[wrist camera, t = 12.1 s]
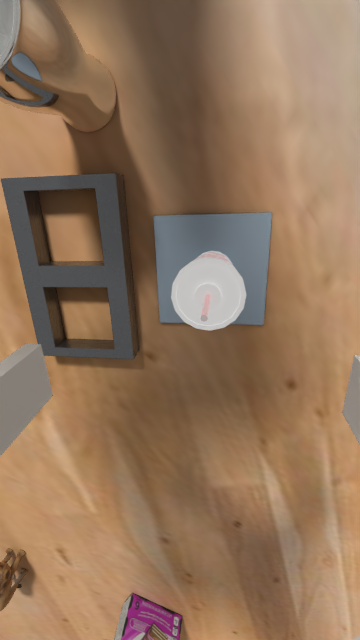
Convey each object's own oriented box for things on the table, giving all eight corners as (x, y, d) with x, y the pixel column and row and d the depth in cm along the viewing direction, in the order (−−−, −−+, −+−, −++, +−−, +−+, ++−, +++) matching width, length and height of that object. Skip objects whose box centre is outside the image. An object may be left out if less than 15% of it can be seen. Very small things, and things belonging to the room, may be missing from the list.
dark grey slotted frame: (16, 180, 33) (0, 178, 30) (123, 175, 31) (115, 173, 29) (51, 346, 40) (40, 355, 38) (139, 349, 38) (133, 359, 36)
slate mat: (154, 215, 32) (153, 215, 31) (271, 212, 30) (272, 212, 30) (160, 320, 36) (159, 322, 36) (263, 323, 35) (263, 324, 34)
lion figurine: (-4, 534, 57) (-42, 590, 49) (22, 538, 57) (-12, 596, 48) (11, 580, 63) (-21, 638, 55) (35, 585, 62) (6, 644, 54)
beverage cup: (249, 285, 33) (266, 339, 20) (199, 307, 34) (184, 371, 22) (226, 233, 31) (227, 255, 18) (174, 259, 33) (142, 296, 20)
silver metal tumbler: (135, 89, 28) (48, -17, 14) (93, 153, 31) (-15, 115, 17) (77, 29, 27) (-79, -150, 13) (38, 100, 29) (-127, 13, 16)
